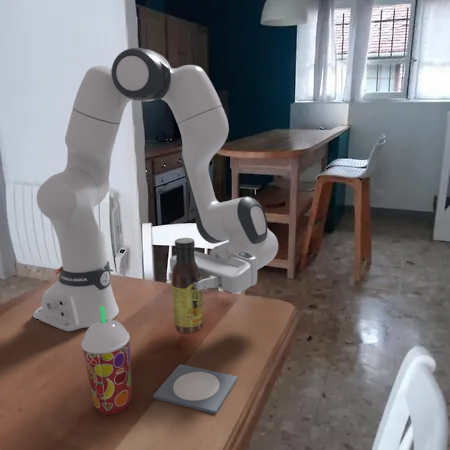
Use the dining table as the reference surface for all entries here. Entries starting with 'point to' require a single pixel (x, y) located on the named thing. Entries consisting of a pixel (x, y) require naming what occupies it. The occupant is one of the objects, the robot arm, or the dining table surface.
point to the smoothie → (108, 364)
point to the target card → (196, 388)
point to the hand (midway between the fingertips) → (183, 281)
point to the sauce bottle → (186, 289)
